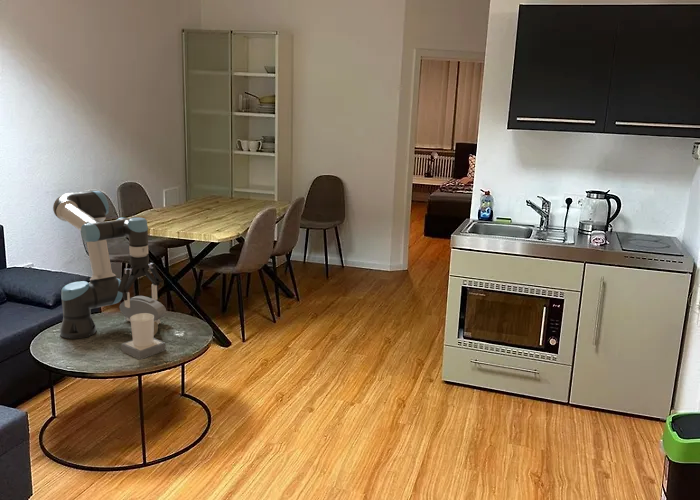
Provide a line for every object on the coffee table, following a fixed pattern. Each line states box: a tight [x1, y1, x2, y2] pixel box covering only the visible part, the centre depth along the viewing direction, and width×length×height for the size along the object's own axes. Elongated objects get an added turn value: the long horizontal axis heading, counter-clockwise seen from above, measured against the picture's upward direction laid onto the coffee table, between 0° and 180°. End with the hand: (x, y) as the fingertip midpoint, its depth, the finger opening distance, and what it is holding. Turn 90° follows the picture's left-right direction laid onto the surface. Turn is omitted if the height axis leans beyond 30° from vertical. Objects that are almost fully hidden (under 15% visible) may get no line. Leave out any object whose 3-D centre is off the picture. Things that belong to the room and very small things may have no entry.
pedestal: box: [120, 337, 167, 360], centre depth 269 cm, size 13×13×4 cm
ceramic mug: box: [154, 321, 159, 336], centre depth 287 cm, size 11×8×8 cm
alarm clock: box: [119, 295, 167, 325], centre depth 301 cm, size 23×6×13 cm, turn 69°
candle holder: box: [129, 313, 155, 347], centre depth 267 cm, size 10×10×12 cm
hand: (141, 303), depth 264 cm, fingers open, 13 cm apart
